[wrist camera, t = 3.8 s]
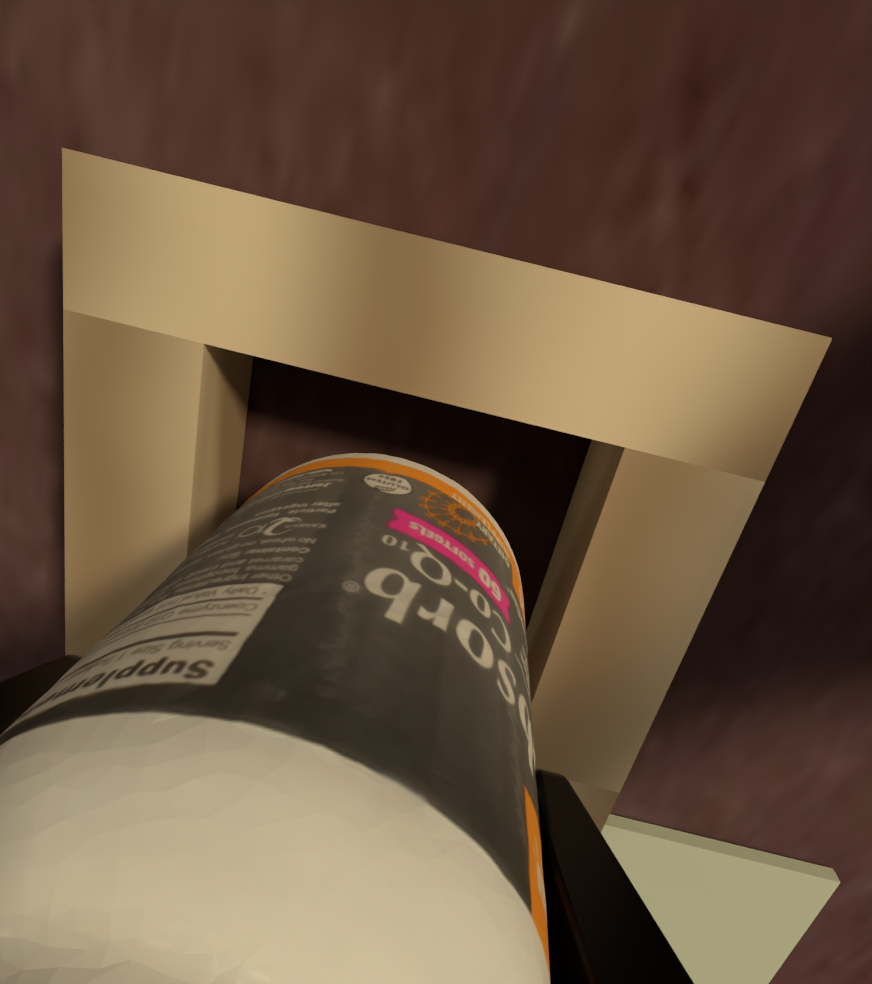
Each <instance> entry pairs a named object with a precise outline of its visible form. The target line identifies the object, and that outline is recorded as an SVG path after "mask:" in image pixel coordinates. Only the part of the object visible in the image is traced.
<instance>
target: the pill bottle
mask: <svg viewBox="0 0 872 984" xmlns="http://www.w3.org/2000/svg"><path fill="white" fill-rule="evenodd" d="M0 984H550V966H549V948H548V931H547V914H546V899H545V888H544V878H543V868H542V850H541V837H540V823H539V809H538V796H537V785H536V778H535V751H534V740H533V727H532V715H531V702H530V685H529V666H528V655H527V640H526V629H525V612H524V598H523V591H522V583H521V578H520V573H519V568H518V565H517V562H516V559H515V556H514V554H513V551H512V549H511V547H510V545H509V542H508V540H507V539H506V537H505V535H504V533H503V532H502V530H501V528H500V527H499V525H498V524H497V522H496V521H495V520H494V518H493V517H492V516H491V515H490V513H489V512H488V511H487V510H486V509H485V508H484V506H483V505H482V504H481V503H480V502H479V501H478V500H477V499H476V498H475V497H474V496H473V495H472V494H471V493H469V492H468V491H467V490H466V489H465V488H463V487H462V486H461V485H459V484H458V483H456V482H455V481H453V480H451V479H449V478H448V477H446V476H444V475H442V474H440V473H438V472H436V471H435V470H433V469H431V468H428V467H426V466H424V465H421V464H418V463H415V462H412V461H409V460H406V459H403V458H399V457H393V456H388V455H384V454H374V453H348V454H340V455H332V456H327V457H323V458H319V459H315V460H312V461H309V462H306V463H304V464H301V465H299V466H296V467H294V468H292V469H290V470H288V471H286V472H284V473H282V474H281V475H279V476H278V477H276V478H275V479H273V480H272V481H270V482H269V483H268V484H266V485H265V486H264V487H263V488H261V489H260V490H259V491H258V492H256V493H255V494H254V495H253V496H252V497H250V498H249V499H248V500H247V501H246V502H245V503H244V504H243V505H242V506H241V507H240V508H239V509H237V510H236V511H235V512H234V513H233V514H232V515H231V516H230V517H229V518H227V519H226V520H225V521H224V522H223V523H222V524H221V525H220V526H219V527H218V528H217V529H216V530H215V531H214V532H213V533H212V534H211V535H210V536H209V537H208V538H207V539H206V540H205V541H204V542H203V543H202V544H201V545H200V546H199V547H197V548H196V549H195V550H194V551H193V552H192V553H191V554H190V555H189V556H188V557H187V558H186V559H185V560H184V561H183V562H182V563H181V564H180V565H179V566H178V567H177V568H176V569H175V570H174V571H173V572H172V573H171V574H170V575H169V576H168V577H167V578H166V579H165V580H164V581H163V582H162V583H161V584H160V585H159V586H158V587H157V588H156V589H155V590H154V591H153V592H152V593H151V594H150V595H149V596H148V597H147V598H146V599H145V600H144V601H143V602H142V603H141V604H140V605H139V606H138V607H137V608H136V609H135V610H134V611H132V612H131V613H130V614H129V615H128V616H127V617H126V618H124V619H123V620H122V621H121V622H120V623H119V624H118V625H117V626H116V627H115V628H113V629H112V630H111V631H110V632H109V633H108V634H107V635H106V636H105V637H104V638H103V639H101V640H100V641H99V642H98V643H97V644H96V645H95V646H94V647H93V648H92V649H91V650H90V651H89V652H88V653H87V654H86V655H85V656H84V657H83V658H81V659H80V660H79V661H78V662H77V663H76V664H75V665H74V666H73V667H72V668H70V669H69V670H68V671H67V672H66V673H65V674H64V675H63V676H62V677H61V678H60V679H59V680H58V681H57V683H56V684H55V685H54V686H53V687H52V688H51V689H50V690H49V691H48V692H46V693H45V694H44V695H43V696H42V697H41V698H40V699H39V700H37V701H36V702H35V703H34V704H33V705H32V706H31V707H30V708H29V709H28V710H27V711H26V712H25V713H24V714H22V715H21V716H20V717H19V718H18V719H17V720H16V721H14V722H13V723H12V724H11V725H10V726H8V727H7V729H6V730H5V731H4V732H3V733H2V734H0Z"/></svg>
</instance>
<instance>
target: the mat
mask: <svg viewBox="0 0 872 984" xmlns="http://www.w3.org/2000/svg"><path fill="white" fill-rule="evenodd" d="M601 834H602V836H603V837H604V839H605V840H606V842H607V844H608V845H609V847H610V849H611V850H612V852H613V853H614V855H615V857H616V858H617V860H618V861H619V863H620V865H621V866H622V868H623V870H624V871H625V873H626V874H627V876H628V878H629V879H630V881H631V882H632V884H633V886H634V887H635V889H636V891H637V892H638V894H639V895H640V897H641V899H642V900H643V902H644V903H645V905H646V907H647V908H648V910H649V912H650V913H651V915H652V916H653V918H654V920H655V921H656V923H657V924H658V926H659V928H660V929H661V931H662V933H663V934H664V936H665V937H666V939H667V941H668V942H669V944H670V945H671V947H672V949H673V950H674V952H675V954H676V955H677V957H678V958H679V960H680V962H681V963H682V965H683V966H684V968H685V970H686V971H687V973H688V975H689V976H690V978H691V979H692V981H693V983H694V984H768V983H769V982H770V981H771V979H772V978H773V976H774V975H775V974H776V972H777V971H778V969H779V968H780V967H781V965H782V964H783V962H784V961H785V960H786V958H787V957H788V955H789V954H790V953H791V951H792V950H793V948H794V947H795V946H796V944H797V943H798V941H799V940H800V939H801V937H802V936H803V934H804V933H805V932H806V930H807V929H808V927H809V926H810V924H811V923H812V922H813V920H814V919H815V917H816V916H817V915H818V913H819V912H820V910H821V909H822V908H823V906H824V905H825V903H826V902H827V901H828V899H829V898H830V896H831V895H832V894H833V892H834V891H835V889H836V888H837V887H838V885H839V884H840V881H839V879H838V877H837V875H836V874H835V872H834V870H833V869H832V868H828V867H824V866H820V865H816V864H812V863H808V862H804V861H800V860H796V859H792V858H787V857H783V856H779V855H775V854H771V853H767V852H763V851H759V850H755V849H751V848H747V847H743V846H738V845H734V844H730V843H726V842H722V841H718V840H714V839H710V838H706V837H702V836H698V835H694V834H690V833H685V832H681V831H677V830H673V829H669V828H665V827H661V826H657V825H653V824H649V823H645V822H641V821H636V820H632V819H628V818H624V817H620V816H616V815H612V814H609V816H608V819H607V821H606V823H605V825H604V827H603V829H602V831H601Z"/></svg>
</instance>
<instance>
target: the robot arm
mask: <svg viewBox="0 0 872 984" xmlns="http://www.w3.org/2000/svg"><path fill="white" fill-rule="evenodd" d="M81 658H83V656H79V655H75V654H70V655H65V656H62V657H60V658H57V659H55V660H53V661H50V662H48V663H45V664H43V665H41V666H38V667H36V668H33V669H31V670H28V671H26V672H24V673H21V674H19V675H16V676H14V677H12V678H9V679H7V680H4V681H2V682H0V734H2V733H3V732H4V731H5V730H6V729H7V727H8V726H10V725H11V724H12V723H13V722H14V721H16V720H17V719H18V718H19V717H20V716H21V715H22V714H24V713H25V712H26V711H27V710H28V709H29V708H30V707H31V706H32V705H33V704H34V703H35V702H36V701H37V700H39V699H40V698H41V697H42V696H43V695H44V694H45V693H46V692H48V691H49V690H50V689H51V688H52V687H53V686H54V685H55V684H56V683H57V681H58V680H59V679H60V678H61V677H62V676H63V675H64V674H65V673H66V672H67V671H68V670H69V669H70V668H72V667H73V666H74V665H75V664H76V663H77V662H78V661H79V660H80V659H81ZM535 778H536V785H537V796H538V809H539V823H540V837H541V850H542V868H543V878H544V888H545V899H546V914H547V931H548V948H549V966H550V984H694V983H693V981H692V979H691V978H690V976H689V975H688V973H687V971H686V970H685V968H684V966H683V965H682V963H681V962H680V960H679V958H678V957H677V955H676V954H675V952H674V950H673V949H672V947H671V945H670V944H669V942H668V941H667V939H666V937H665V936H664V934H663V933H662V931H661V929H660V928H659V926H658V924H657V923H656V921H655V920H654V918H653V916H652V915H651V913H650V912H649V910H648V908H647V907H646V905H645V903H644V902H643V900H642V899H641V897H640V895H639V894H638V892H637V891H636V889H635V887H634V886H633V884H632V882H631V881H630V879H629V878H628V876H627V874H626V873H625V871H624V870H623V868H622V866H621V865H620V863H619V861H618V860H617V858H616V857H615V855H614V853H613V852H612V850H611V849H610V847H609V845H608V844H607V842H606V840H605V839H604V837H603V836H602V834H601V832H600V831H599V829H598V828H597V826H596V824H595V823H594V821H593V819H592V818H591V816H590V815H589V813H588V811H587V810H586V808H585V807H584V805H583V803H582V802H581V800H580V798H579V797H578V795H577V794H576V792H575V790H574V789H573V787H572V786H571V784H570V782H569V781H568V779H567V778H566V777H565V776H563V775H561V774H558V773H554V772H550V771H546V770H542V769H535Z"/></svg>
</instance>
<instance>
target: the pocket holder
mask: <svg viewBox="0 0 872 984" xmlns="http://www.w3.org/2000/svg"><path fill="white" fill-rule="evenodd" d="M62 199H63V358H64V517H65V655H70V654H75V655H79V656H83V657H84V656H85V655H86V654H87V653H88V652H89V651H90V650H91V649H92V648H93V647H94V646H95V645H96V644H97V643H98V642H99V641H100V640H101V639H103V638H104V637H105V636H106V635H107V634H108V633H109V632H110V631H111V630H112V629H113V628H115V627H116V626H117V625H118V624H119V623H120V622H121V621H122V620H123V619H124V618H126V617H127V616H128V615H129V614H130V613H131V612H132V611H134V610H135V609H136V608H137V607H138V606H139V605H140V604H141V603H142V602H143V601H144V600H145V599H146V598H147V597H148V596H149V595H150V594H151V593H152V592H153V591H154V590H155V589H156V588H157V587H158V586H159V585H160V584H161V583H162V582H163V581H164V580H165V579H166V578H167V577H168V576H169V575H170V574H171V573H172V572H173V571H174V570H175V569H176V568H177V567H178V566H179V565H180V564H181V563H182V562H183V561H184V560H185V559H186V558H187V557H188V556H189V555H190V554H191V553H192V552H193V551H194V550H195V549H196V548H197V547H199V546H200V545H201V544H202V543H203V542H204V541H205V540H206V539H207V538H208V537H209V536H210V535H211V534H212V533H213V532H214V531H215V530H216V529H217V528H218V527H219V526H220V525H221V524H222V523H223V522H224V521H225V520H226V519H227V518H229V517H230V516H231V515H232V514H233V513H234V512H235V511H236V507H237V498H238V490H239V481H240V472H241V463H242V454H243V445H244V436H245V427H246V418H247V409H248V401H249V392H250V383H251V374H252V365H253V356H256V357H260V358H264V359H268V360H272V361H276V362H280V363H284V364H288V365H292V366H296V367H300V368H305V369H309V370H313V371H317V372H321V373H325V374H329V375H333V376H337V377H341V378H345V379H349V380H353V381H357V382H361V383H365V384H369V385H373V386H378V387H382V388H386V389H390V390H394V391H398V392H402V393H406V394H410V395H414V396H418V397H422V398H426V399H430V400H434V401H438V402H442V403H447V404H451V405H455V406H459V407H463V408H467V409H471V410H475V411H479V412H483V413H487V414H491V415H495V416H499V417H503V418H507V419H511V420H515V421H520V422H524V423H528V424H532V425H536V426H540V427H544V428H548V429H552V430H556V431H560V432H564V433H568V434H572V435H576V436H580V437H584V438H588V439H592V440H591V443H590V446H589V449H588V452H587V455H586V458H585V461H584V464H583V466H582V469H581V472H580V475H579V478H578V481H577V484H576V487H575V490H574V493H573V496H572V499H571V502H570V505H569V507H568V510H567V513H566V516H565V519H564V522H563V525H562V528H561V531H560V534H559V537H558V540H557V543H556V546H555V549H554V551H553V554H552V557H551V560H550V563H549V566H548V569H547V572H546V575H545V578H544V581H543V584H542V587H541V590H540V593H539V595H538V598H537V601H536V604H535V607H534V610H533V613H532V616H531V619H530V622H529V625H528V628H527V631H526V640H527V655H528V666H529V685H530V702H531V715H532V727H533V740H534V751H535V769H542V770H546V771H550V772H554V773H558V774H561V775H563V776H565V777H566V778H567V779H568V781H569V782H570V784H571V786H572V787H573V789H574V790H575V792H576V794H577V795H578V797H579V798H580V800H581V802H582V803H583V805H584V807H585V808H586V810H587V811H588V813H589V815H590V816H591V818H592V819H593V821H594V823H595V824H596V826H597V828H598V829H599V831H600V832H601V831H602V829H603V827H604V825H605V823H606V821H607V819H608V816H609V814H610V812H611V810H612V808H613V806H614V804H615V801H616V799H617V797H618V795H619V793H620V791H621V789H622V787H623V784H624V782H625V780H626V778H627V776H628V774H629V772H630V769H631V767H632V765H633V763H634V761H635V759H636V757H637V755H638V752H639V750H640V748H641V746H642V744H643V742H644V740H645V737H646V735H647V733H648V731H649V729H650V727H651V725H652V722H653V720H654V718H655V716H656V714H657V712H658V710H659V708H660V705H661V703H662V701H663V699H664V697H665V695H666V693H667V690H668V688H669V686H670V684H671V682H672V680H673V678H674V676H675V673H676V671H677V669H678V667H679V665H680V663H681V661H682V658H683V656H684V654H685V652H686V650H687V648H688V646H689V643H690V641H691V639H692V637H693V635H694V633H695V631H696V629H697V626H698V624H699V622H700V620H701V618H702V616H703V614H704V611H705V609H706V607H707V605H708V603H709V601H710V599H711V597H712V594H713V592H714V590H715V588H716V586H717V584H718V582H719V579H720V577H721V575H722V573H723V571H724V569H725V567H726V564H727V562H728V560H729V558H730V556H731V554H732V552H733V550H734V547H735V545H736V543H737V541H738V539H739V537H740V535H741V532H742V530H743V528H744V526H745V524H746V522H747V520H748V518H749V515H750V513H751V511H752V509H753V507H754V505H755V503H756V500H757V498H758V496H759V494H760V492H761V490H762V488H763V485H764V483H765V481H766V479H767V477H768V475H769V473H770V471H771V468H772V466H773V464H774V462H775V460H776V458H777V456H778V453H779V451H780V449H781V447H782V445H783V443H784V441H785V439H786V436H787V434H788V432H789V430H790V428H791V426H792V424H793V421H794V419H795V417H796V415H797V413H798V411H799V409H800V406H801V404H802V402H803V400H804V398H805V396H806V394H807V392H808V389H809V387H810V385H811V383H812V381H813V379H814V377H815V374H816V372H817V370H818V368H819V366H820V364H821V362H822V360H823V357H824V355H825V353H826V351H827V349H828V347H829V345H830V342H831V340H832V338H830V337H826V336H822V335H818V334H814V333H810V332H806V331H802V330H798V329H794V328H790V327H786V326H781V325H777V324H773V323H769V322H765V321H761V320H757V319H753V318H749V317H745V316H741V315H737V314H733V313H729V312H725V311H721V310H717V309H713V308H709V307H705V306H701V305H697V304H692V303H688V302H684V301H680V300H676V299H672V298H668V297H664V296H660V295H656V294H652V293H648V292H644V291H640V290H636V289H632V288H628V287H624V286H620V285H616V284H612V283H608V282H603V281H599V280H595V279H591V278H587V277H583V276H579V275H575V274H571V273H567V272H563V271H559V270H555V269H551V268H547V267H543V266H539V265H535V264H531V263H527V262H523V261H518V260H514V259H510V258H506V257H502V256H498V255H494V254H490V253H486V252H482V251H478V250H474V249H470V248H466V247H462V246H458V245H454V244H450V243H446V242H442V241H438V240H434V239H429V238H425V237H421V236H417V235H413V234H409V233H405V232H401V231H397V230H393V229H389V228H385V227H381V226H377V225H373V224H369V223H365V222H361V221H357V220H353V219H349V218H345V217H340V216H336V215H332V214H328V213H324V212H320V211H316V210H312V209H308V208H304V207H300V206H296V205H292V204H288V203H284V202H280V201H276V200H272V199H268V198H264V197H260V196H256V195H251V194H247V193H243V192H239V191H235V190H231V189H227V188H223V187H219V186H215V185H211V184H207V183H203V182H199V181H195V180H191V179H187V178H183V177H179V176H175V175H171V174H166V173H162V172H158V171H154V170H150V169H146V168H142V167H138V166H134V165H130V164H126V163H122V162H118V161H114V160H110V159H106V158H102V157H98V156H94V155H90V154H86V153H82V152H77V151H73V150H69V149H65V148H62Z"/></svg>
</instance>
